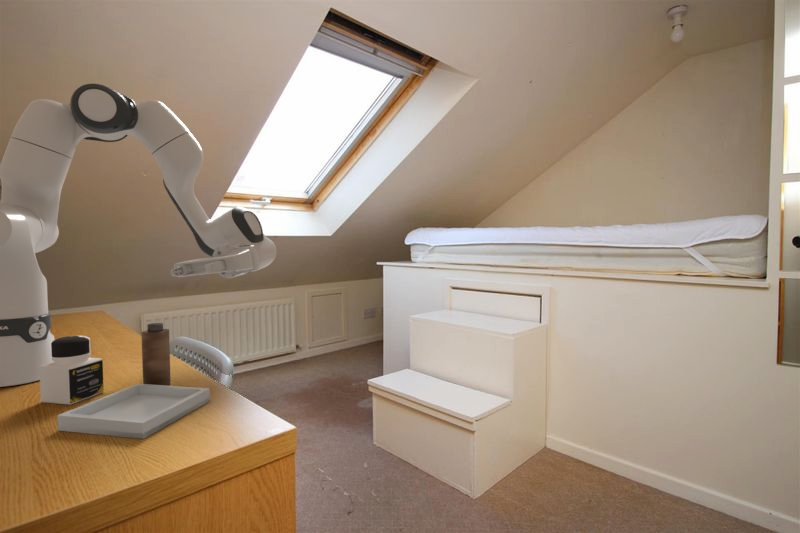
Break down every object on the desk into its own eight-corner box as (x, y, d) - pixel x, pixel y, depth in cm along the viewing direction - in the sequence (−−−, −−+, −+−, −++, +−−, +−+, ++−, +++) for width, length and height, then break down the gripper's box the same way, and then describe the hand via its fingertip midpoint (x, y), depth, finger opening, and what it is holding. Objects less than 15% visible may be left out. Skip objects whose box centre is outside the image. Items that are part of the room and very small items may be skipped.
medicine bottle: (70, 405, 79) (68, 342, 78) (40, 402, 80) (37, 340, 79) (104, 392, 86) (102, 334, 85) (75, 390, 87) (73, 332, 86)
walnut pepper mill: (137, 390, 86) (135, 325, 86) (155, 383, 91) (154, 321, 91) (158, 392, 85) (156, 326, 85) (176, 384, 90) (174, 322, 90)
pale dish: (58, 430, 68) (57, 415, 68) (138, 395, 83) (137, 383, 83) (143, 438, 65) (142, 422, 64) (209, 401, 80) (209, 388, 80)
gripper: (197, 253, 113) (152, 262, 100) (259, 244, 105) (219, 252, 93) (202, 276, 113) (158, 287, 101) (264, 268, 106) (225, 280, 93)
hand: (188, 270), depth 97 cm, fingers open, 8 cm apart
